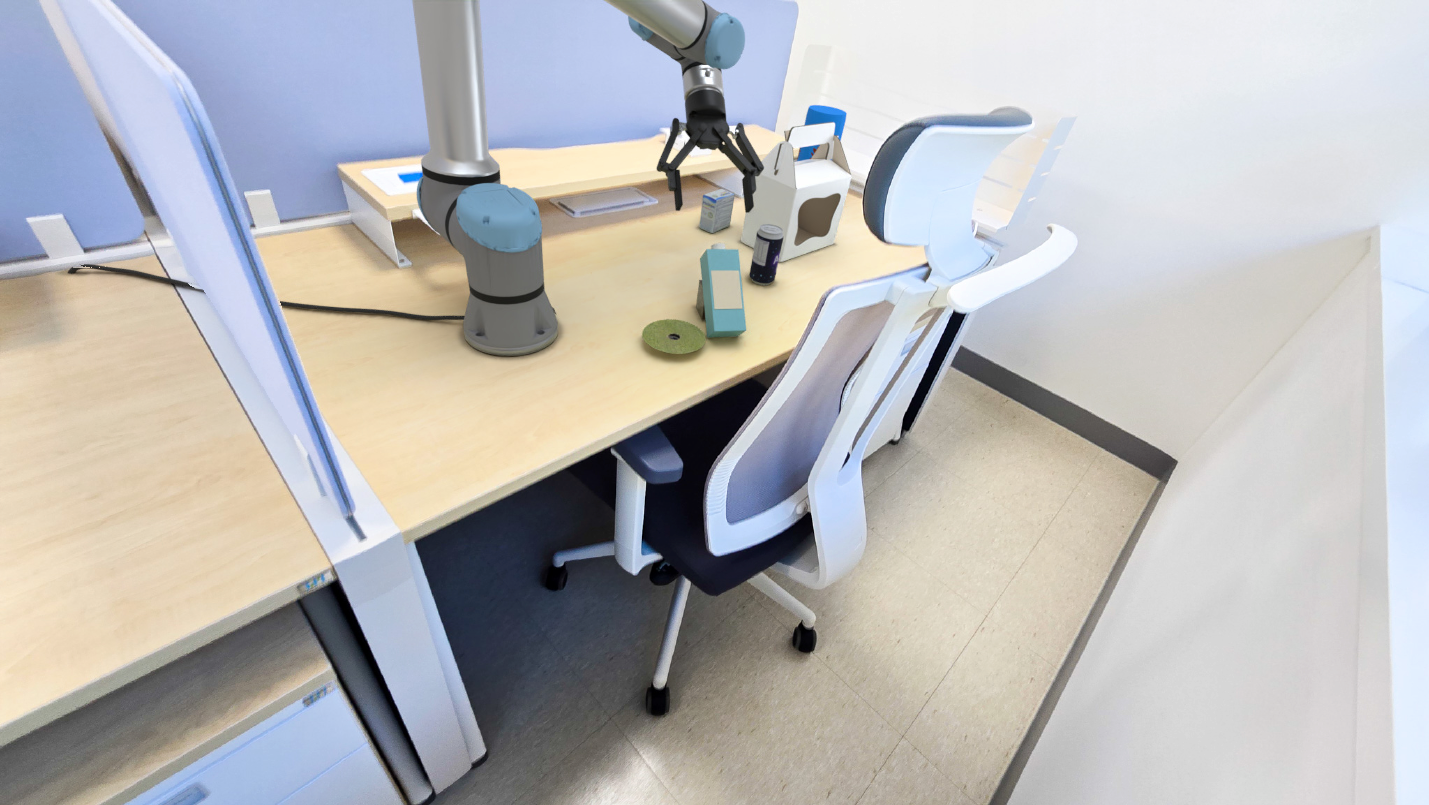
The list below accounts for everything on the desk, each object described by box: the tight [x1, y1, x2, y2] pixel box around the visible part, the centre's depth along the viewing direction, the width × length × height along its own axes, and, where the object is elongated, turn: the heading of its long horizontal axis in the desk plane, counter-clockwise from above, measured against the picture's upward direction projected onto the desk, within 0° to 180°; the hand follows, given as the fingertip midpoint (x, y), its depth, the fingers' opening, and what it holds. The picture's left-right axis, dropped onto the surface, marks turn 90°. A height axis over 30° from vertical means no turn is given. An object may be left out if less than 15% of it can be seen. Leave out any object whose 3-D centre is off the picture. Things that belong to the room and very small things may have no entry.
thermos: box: [796, 104, 847, 162], centre depth 165 cm, size 11×11×25 cm
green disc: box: [641, 318, 707, 355], centre depth 102 cm, size 11×11×2 cm
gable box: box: [740, 122, 853, 263], centre depth 137 cm, size 22×13×28 cm, turn 135°
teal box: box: [699, 242, 747, 338], centre depth 105 cm, size 6×14×14 cm, turn 15°
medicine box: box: [698, 188, 736, 234], centre depth 145 cm, size 8×4×9 cm, turn 144°
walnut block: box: [695, 279, 706, 321], centre depth 111 cm, size 5×5×6 cm
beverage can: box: [748, 224, 784, 286], centre depth 123 cm, size 6×6×12 cm
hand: (715, 208), depth 106 cm, fingers open, 13 cm apart
